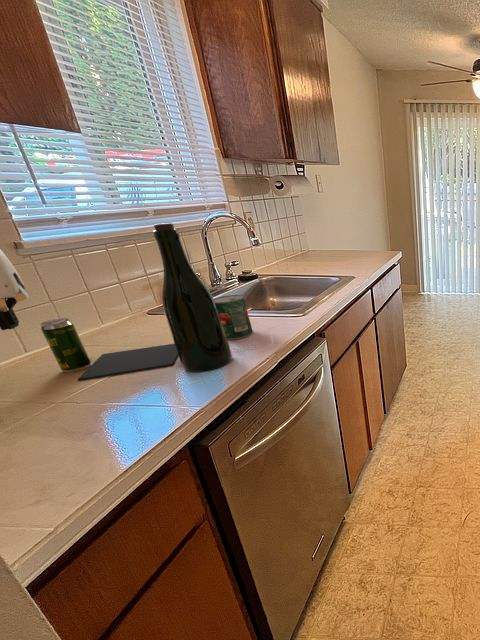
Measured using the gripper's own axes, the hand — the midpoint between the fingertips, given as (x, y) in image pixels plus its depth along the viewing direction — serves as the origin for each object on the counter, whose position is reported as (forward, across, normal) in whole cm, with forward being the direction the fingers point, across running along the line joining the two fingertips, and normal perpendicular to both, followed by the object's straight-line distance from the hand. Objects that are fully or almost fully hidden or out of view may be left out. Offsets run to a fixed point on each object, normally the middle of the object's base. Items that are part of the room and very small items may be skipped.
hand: (10, 327), depth 89 cm
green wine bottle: (+12, +36, -12) cm, 40 cm away
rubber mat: (+12, +20, -1) cm, 23 cm away
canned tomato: (+12, +42, +8) cm, 44 cm away
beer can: (+12, +8, 0) cm, 14 cm away
